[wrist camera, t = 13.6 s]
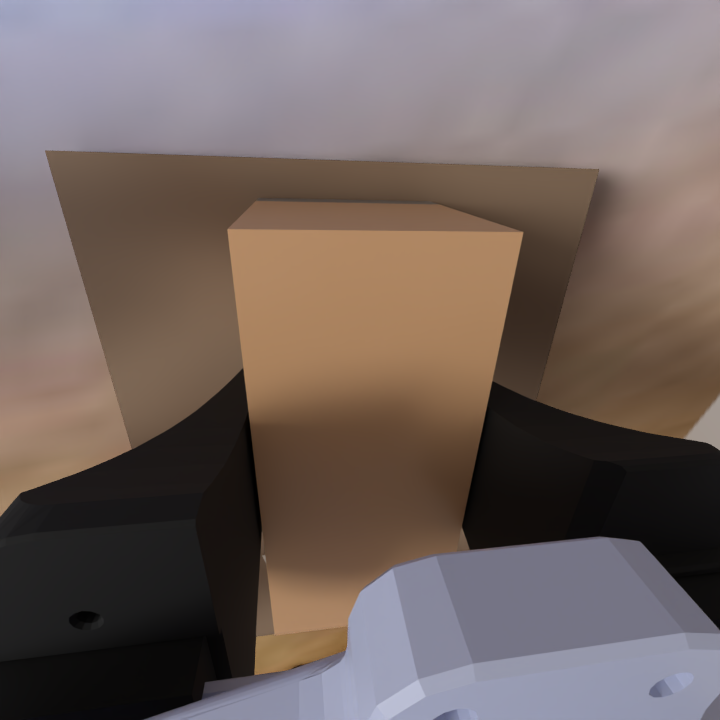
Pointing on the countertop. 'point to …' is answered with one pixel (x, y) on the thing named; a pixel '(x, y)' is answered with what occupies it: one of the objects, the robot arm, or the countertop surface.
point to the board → (214, 271)
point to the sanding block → (363, 385)
